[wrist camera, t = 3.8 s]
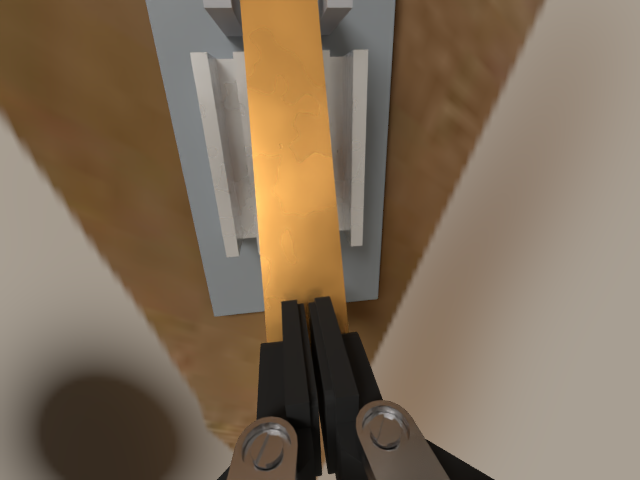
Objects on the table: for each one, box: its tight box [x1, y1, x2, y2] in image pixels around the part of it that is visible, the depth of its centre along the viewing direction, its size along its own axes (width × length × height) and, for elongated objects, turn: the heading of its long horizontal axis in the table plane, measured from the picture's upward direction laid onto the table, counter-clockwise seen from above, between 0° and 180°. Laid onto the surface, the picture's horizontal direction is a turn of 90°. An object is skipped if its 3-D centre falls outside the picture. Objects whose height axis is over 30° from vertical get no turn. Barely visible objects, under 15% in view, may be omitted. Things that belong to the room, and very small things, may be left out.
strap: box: [240, 0, 349, 356], centre depth 12 cm, size 16×3×1 cm, turn 1°
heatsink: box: [190, 50, 368, 257], centre depth 18 cm, size 10×9×4 cm
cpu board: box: [146, 0, 395, 316], centre depth 17 cm, size 24×13×7 cm, turn 2°
